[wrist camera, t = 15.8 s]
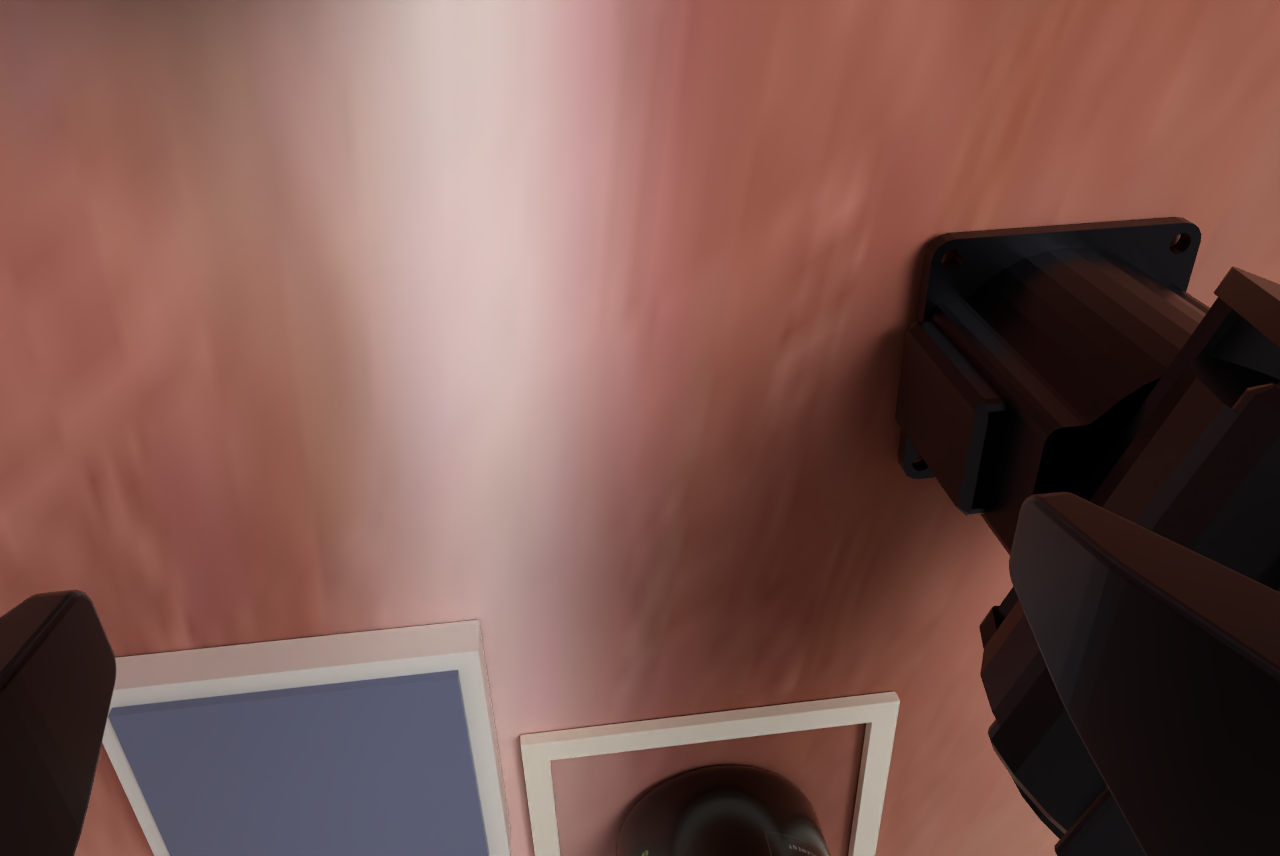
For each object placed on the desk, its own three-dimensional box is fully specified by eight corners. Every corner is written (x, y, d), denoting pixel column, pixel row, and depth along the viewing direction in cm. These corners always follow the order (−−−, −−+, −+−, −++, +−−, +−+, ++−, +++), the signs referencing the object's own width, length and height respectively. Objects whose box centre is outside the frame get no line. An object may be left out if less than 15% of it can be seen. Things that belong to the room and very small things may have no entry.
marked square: (895, 691, 30) (900, 701, 30) (860, 912, 36) (863, 923, 36) (520, 735, 29) (520, 745, 29) (548, 956, 35) (549, 966, 35)
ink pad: (478, 619, 26) (478, 658, 25) (510, 829, 31) (510, 871, 30) (96, 659, 26) (75, 702, 24) (188, 870, 30) (174, 915, 29)
